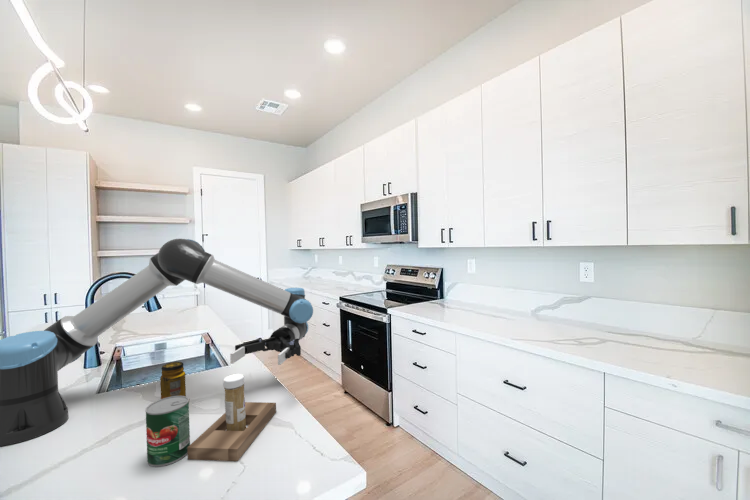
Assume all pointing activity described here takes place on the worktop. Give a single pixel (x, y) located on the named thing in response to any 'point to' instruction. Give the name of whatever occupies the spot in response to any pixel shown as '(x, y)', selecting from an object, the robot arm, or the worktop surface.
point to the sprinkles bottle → (235, 402)
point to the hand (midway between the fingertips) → (255, 359)
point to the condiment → (173, 380)
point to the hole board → (231, 435)
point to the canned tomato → (167, 430)
